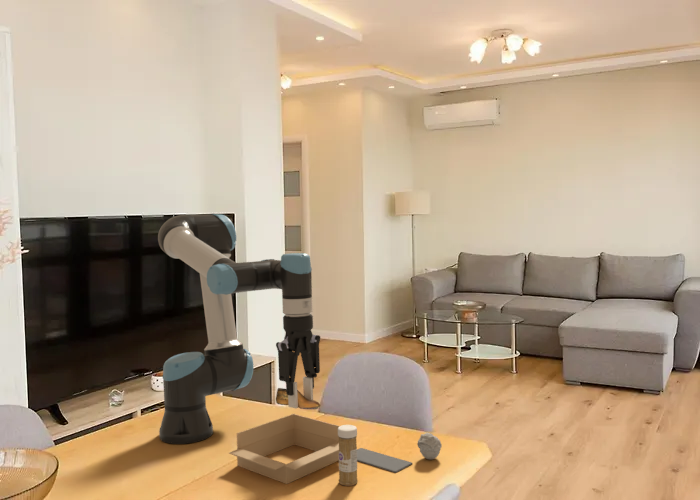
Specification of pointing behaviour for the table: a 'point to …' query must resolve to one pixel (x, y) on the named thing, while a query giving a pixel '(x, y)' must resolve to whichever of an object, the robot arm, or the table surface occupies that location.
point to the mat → (381, 460)
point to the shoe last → (302, 401)
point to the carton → (281, 436)
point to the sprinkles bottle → (347, 455)
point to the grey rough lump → (429, 445)
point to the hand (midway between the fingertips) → (300, 404)
